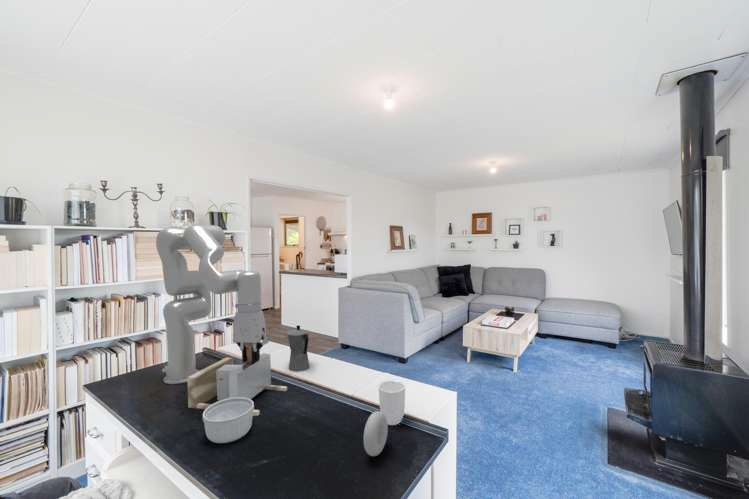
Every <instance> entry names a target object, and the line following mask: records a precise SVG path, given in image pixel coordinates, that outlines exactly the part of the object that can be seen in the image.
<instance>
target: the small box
mask: <svg viewBox="0 0 749 499" xmlns="http://www.w3.org/2000/svg"><path fill="white" fill-rule="evenodd" d="M242 365H243V364H234V365H224V366H222V367H221V368H219V369H218V370H217V371H216V376H217V395H216V396H217V398H216V399H217V402H218V401H221V400H224V399H228V398H230V397H229V373H230V372H232V371H234V370H235V369H237V368H239V367H241V366H242Z"/></svg>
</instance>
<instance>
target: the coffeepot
mask: <svg viewBox="0 0 749 499" xmlns="http://www.w3.org/2000/svg"><path fill="white" fill-rule="evenodd" d="M309 335H310V331H309V330H307V329H301V325H296V329H290V331H287V339H288V342H289V343H288V344H289V349H290V355H289V362H288V370H289V371H291V372H292V371H293V372H302V371H306V370H308V369H309V368H310V360H309V356H308V348H309Z"/></svg>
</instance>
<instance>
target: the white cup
mask: <svg viewBox="0 0 749 499" xmlns="http://www.w3.org/2000/svg"><path fill="white" fill-rule="evenodd" d="M378 397H379V399H378V400H379V408H380V412H382V413H383V414H384V415H385V416H386V419H387V424H388V426H398V425H400V424H399V423H400V421H401V419H402V418H403V416H404V415H405V407H406V406H405V405H406V403H405V402H406V385H405V384H404V383H403V382H401V381H398V380H386V381H382V382H381V383H380V384H379V385H378ZM404 417H405V416H404ZM397 424H398V425H397Z"/></svg>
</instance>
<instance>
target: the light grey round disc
mask: <svg viewBox="0 0 749 499" xmlns="http://www.w3.org/2000/svg"><path fill="white" fill-rule="evenodd" d="M364 426H365V427H364V431H363V440H362V441H363V448H364V450H365V452H366V453H367V455H369V456H370V457H376V456H379V455H380V454H381V453H382V451H383V449H384V447H385V445H386V442H387V438H388V428H389V425H388V424H387V419H386V416H385V415H384V414H383V413H382V412H381V410H380V411H378V410H377V411H374V412H372V413H371V414H370V415H369V417H368V419H367V420H366V423H365V425H364Z"/></svg>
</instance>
